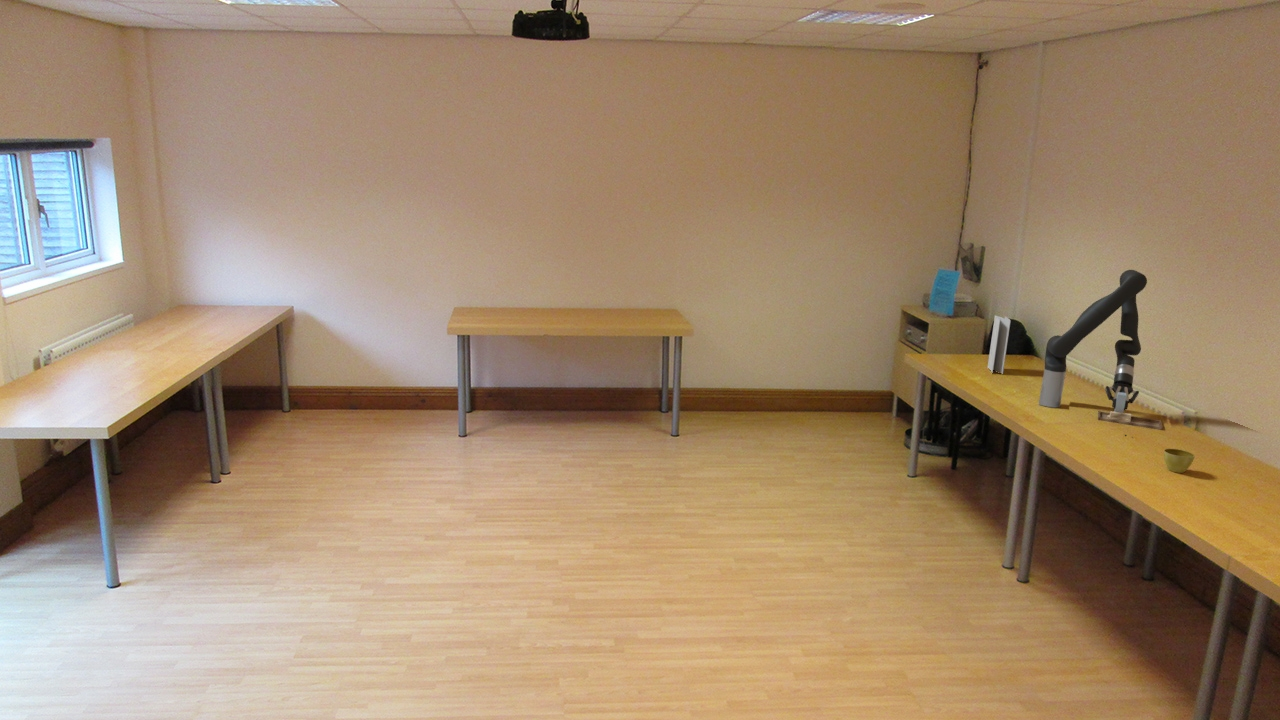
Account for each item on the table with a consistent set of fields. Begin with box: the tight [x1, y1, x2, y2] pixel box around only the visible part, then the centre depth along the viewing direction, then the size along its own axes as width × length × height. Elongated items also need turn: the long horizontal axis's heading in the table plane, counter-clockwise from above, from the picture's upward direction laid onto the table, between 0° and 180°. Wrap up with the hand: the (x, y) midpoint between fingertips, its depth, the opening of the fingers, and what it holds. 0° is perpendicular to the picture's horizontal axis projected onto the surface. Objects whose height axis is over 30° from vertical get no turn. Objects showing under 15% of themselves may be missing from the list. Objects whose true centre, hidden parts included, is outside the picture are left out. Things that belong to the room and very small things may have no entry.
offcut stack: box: [1107, 410, 1132, 422], centre depth 389 cm, size 9×4×4 cm, turn 63°
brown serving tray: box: [1097, 410, 1164, 431], centre depth 391 cm, size 25×13×2 cm, turn 63°
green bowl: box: [1163, 448, 1196, 474], centre depth 331 cm, size 10×10×7 cm
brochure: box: [987, 314, 1011, 375], centre depth 480 cm, size 14×6×30 cm, turn 168°
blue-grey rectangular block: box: [1113, 392, 1127, 413], centre depth 393 cm, size 3×5×11 cm, turn 153°
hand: (1119, 408), depth 392 cm, fingers closed on blue-grey rectangular block, 3 cm apart
